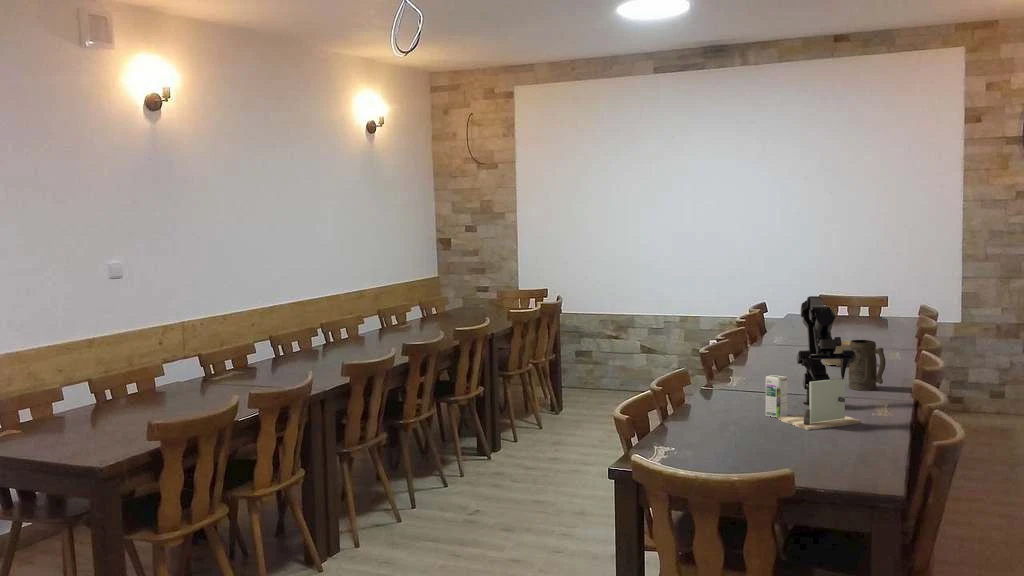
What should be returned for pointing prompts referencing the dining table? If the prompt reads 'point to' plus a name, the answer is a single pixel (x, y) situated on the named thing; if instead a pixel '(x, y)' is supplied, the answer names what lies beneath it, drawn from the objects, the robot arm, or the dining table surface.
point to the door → (827, 400)
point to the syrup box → (776, 396)
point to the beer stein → (865, 365)
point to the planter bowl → (838, 349)
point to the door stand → (804, 422)
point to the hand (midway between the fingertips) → (828, 379)
